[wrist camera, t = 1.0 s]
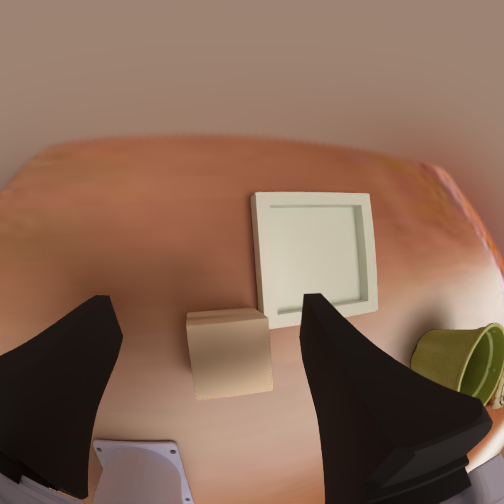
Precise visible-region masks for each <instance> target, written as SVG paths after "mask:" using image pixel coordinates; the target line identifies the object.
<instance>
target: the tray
mask: <svg viewBox="0 0 504 504" xmlns="http://www.w3.org/2000/svg"><path fill="white" fill-rule="evenodd" d="M250 200H251V213H252V227H253V241H254V255H255V269H256V283H257V297H258V311H259V312H260V313H262V314H263V315H265V316H266V317H268V319H269V329H274V328H282V327H289V326H296V325H301V317H302V306H303V295H304V294H310V293H321V294H322V295H323V296H324V297H325V298H326V299H327V300H328V301H329V302H330V303H331V304H332V305H333V306H334V307H335V308H336V309H337V310H338V311H339V312H340V313H341V315H342V316H343V317H349V316H354V315H359V314H364V313H369V312H374V311H378V294H377V271H376V255H375V242H374V231H373V222H372V213H371V205H370V197H369V194H363V193H333V192H255V193H254V194H253V195H252V197H251V198H250Z"/></svg>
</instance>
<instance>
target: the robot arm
mask: <svg viewBox="0 0 504 504" xmlns="http://www.w3.org/2000/svg"><path fill="white" fill-rule="evenodd" d="M299 338H300V345H301V353H302V360H303V364H304V368H305V372H306V376H307V379H308V383H309V387H310V391H311V394H312V398H313V402H314V406H315V410H316V414H317V419H318V426H319V433H320V441H321V450H322V459H323V471H324V485H325V504H504V459H503V457H502V455H501V454H497V455H496V456H494V457H493V458H491V459H490V460H488V461H486V462H485V463H483V464H481V465H480V466H478V467H476V468H475V469H473V470H472V471H470V472H469V473H467V472H466V469H465V466H467V465H468V464H469V460H468V458H467V455H466V454H467V453H468V452H469V451H470V450H472V449H473V448H474V447H475V446H476V445H477V444H478V443H479V442H480V441H481V440H482V439H483V438H484V437H485V436H486V435H487V434H488V432H489V431H490V429H491V427H492V423H493V421H492V420H491V418H490V416H489V414H488V412H487V410H486V408H485V407H484V405H483V403H482V401H481V400H480V399H479V398H476V397H473V396H470V395H467V394H464V393H461V392H458V391H455V390H452V389H450V388H447V387H445V386H443V385H440V384H438V383H436V382H434V381H432V380H430V379H428V378H426V377H424V376H422V375H420V374H418V373H416V372H415V371H413V370H411V369H409V368H408V367H406V366H404V365H403V364H401V363H400V362H398V361H397V360H395V359H394V358H392V357H391V356H389V355H388V354H387V353H385V352H384V351H382V350H381V349H380V348H378V347H377V346H376V345H375V344H373V343H372V342H371V341H370V340H369V339H367V338H366V337H365V336H364V335H363V334H361V333H360V332H359V331H358V330H357V329H356V328H355V327H354V326H353V325H352V324H351V323H350V322H349V321H348V320H346V319H345V318H344V317H343V316H342V315H341V313H340V312H339V311H338V310H337V309H336V308H335V307H334V306H333V305H332V304H331V303H330V302H329V301H328V300H327V299H326V298H325V297H324V296H323V295H322V294H321V293H310V294H304V295H303V306H302V317H301V327H300V336H299ZM122 339H123V335H122V332H121V329H120V326H119V324H118V321H117V318H116V315H115V312H114V309H113V306H112V303H111V300H110V297H109V296H104V295H96V296H94V297H92V298H90V299H89V300H87V301H86V302H84V303H83V304H81V305H80V306H78V307H77V308H75V309H74V310H73V311H71V312H70V313H68V314H67V315H66V316H64V317H63V318H62V319H60V320H59V321H57V322H56V323H55V324H53V325H52V326H50V327H49V328H47V329H46V330H44V331H43V332H41V333H40V334H38V335H37V336H35V337H34V338H32V339H31V340H29V341H27V342H26V343H24V344H22V345H20V346H19V347H17V348H15V349H13V350H11V351H9V352H7V353H5V354H3V355H1V356H0V504H84V503H82V502H79V501H76V500H74V499H71V498H69V497H67V496H64V495H62V494H60V493H57V492H55V491H53V490H51V489H49V487H50V488H52V489H54V490H56V491H58V490H59V491H61V492H63V493H66V494H68V495H71V496H73V497H76V498H78V499H85V498H87V497H88V462H89V451H90V444H91V437H92V431H93V426H94V422H95V417H96V413H97V409H98V406H99V403H100V400H101V398H102V395H103V393H104V390H105V388H106V385H107V383H108V380H109V378H110V375H111V373H112V370H113V368H114V365H115V363H116V360H117V358H118V354H119V351H120V347H121V343H122ZM93 447H94V449H95V452H96V454H97V457H98V459H99V461H100V464H101V466H102V468H103V471H102V474H101V477H100V480H99V482H98V485H97V488H96V491H95V494H94V497H93V500H92V503H91V504H194V501H193V498H192V495H191V492H190V488H189V485H188V482H187V478H186V475H185V471H184V468H183V464H182V461H181V457H180V453H179V449H178V445H177V444H176V443H175V442H171V441H170V442H129V441H109V440H94V441H93ZM98 448H100V449H101V450H100V449H98ZM171 450H175V451H174V452H173V451H171ZM186 498H189V499H186Z"/></svg>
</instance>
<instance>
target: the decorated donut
mask: <svg viewBox="0 0 504 504" xmlns="http://www.w3.org/2000/svg"><path fill="white" fill-rule="evenodd" d="M489 402H490V406H491V408H492V409H498V408H500V407H502V406H504V367H503V371H502V374H501V377H500V380H499V382H498V385H497V387H496V389H495V391H494V393H493V394H492V396H491V398H490V399H489Z"/></svg>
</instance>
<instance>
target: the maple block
mask: <svg viewBox="0 0 504 504" xmlns="http://www.w3.org/2000/svg"><path fill="white" fill-rule="evenodd" d="M186 329H187V338H188V346H189V354H190V362H191V369H192V376H193V383H194V390H195V396H196V400H204V399H214V398H224V397H232V396H240V395H247V394H254V393H260V392H266V391H272V390H273V383H272V366H271V350H270V334H269V319H268V317H266V316H265V315H263V314H262V313H260V312H259V311H257V310H256V309H254V308H253V307H245V308H235V309H224V310H213V311H200V312H187V320H186Z"/></svg>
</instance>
